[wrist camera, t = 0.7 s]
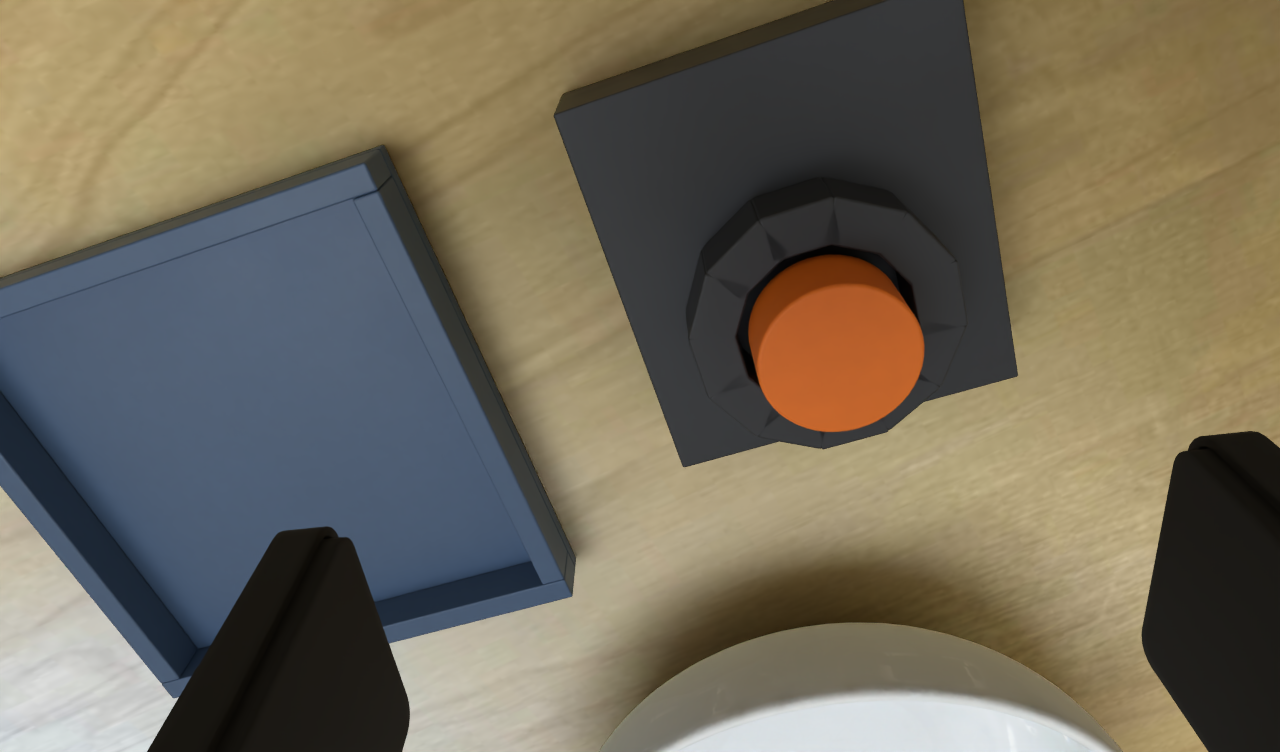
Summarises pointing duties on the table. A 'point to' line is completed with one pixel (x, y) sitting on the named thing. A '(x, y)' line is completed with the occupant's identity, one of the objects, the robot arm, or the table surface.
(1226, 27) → the table surface
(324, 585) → the robot arm
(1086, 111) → the table surface
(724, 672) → the serving bowl
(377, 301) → the tray
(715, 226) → the push button box
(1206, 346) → the table surface
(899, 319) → the orange push button
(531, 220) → the table surface
